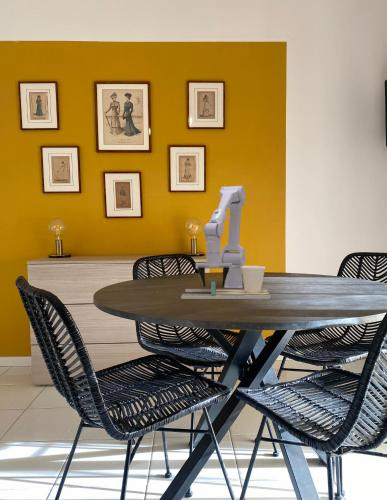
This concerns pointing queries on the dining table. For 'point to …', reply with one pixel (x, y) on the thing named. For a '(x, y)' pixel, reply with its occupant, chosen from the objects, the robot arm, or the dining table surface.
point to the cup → (252, 278)
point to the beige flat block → (235, 291)
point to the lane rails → (222, 296)
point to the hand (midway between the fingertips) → (213, 286)
